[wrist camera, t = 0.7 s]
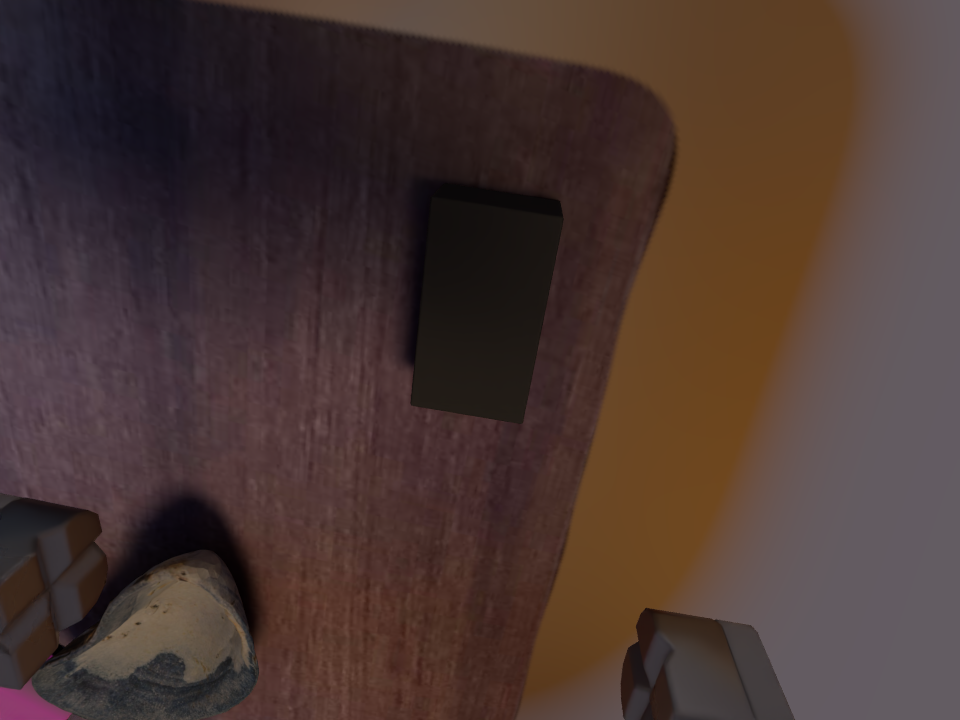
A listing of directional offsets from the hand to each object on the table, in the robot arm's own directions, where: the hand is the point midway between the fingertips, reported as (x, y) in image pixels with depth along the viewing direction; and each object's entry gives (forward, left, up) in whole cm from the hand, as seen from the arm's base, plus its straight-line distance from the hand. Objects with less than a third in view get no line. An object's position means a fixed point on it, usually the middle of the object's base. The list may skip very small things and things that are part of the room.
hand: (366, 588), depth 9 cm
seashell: (+26, +4, -16) cm, 30 cm away
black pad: (0, +1, -16) cm, 16 cm away
